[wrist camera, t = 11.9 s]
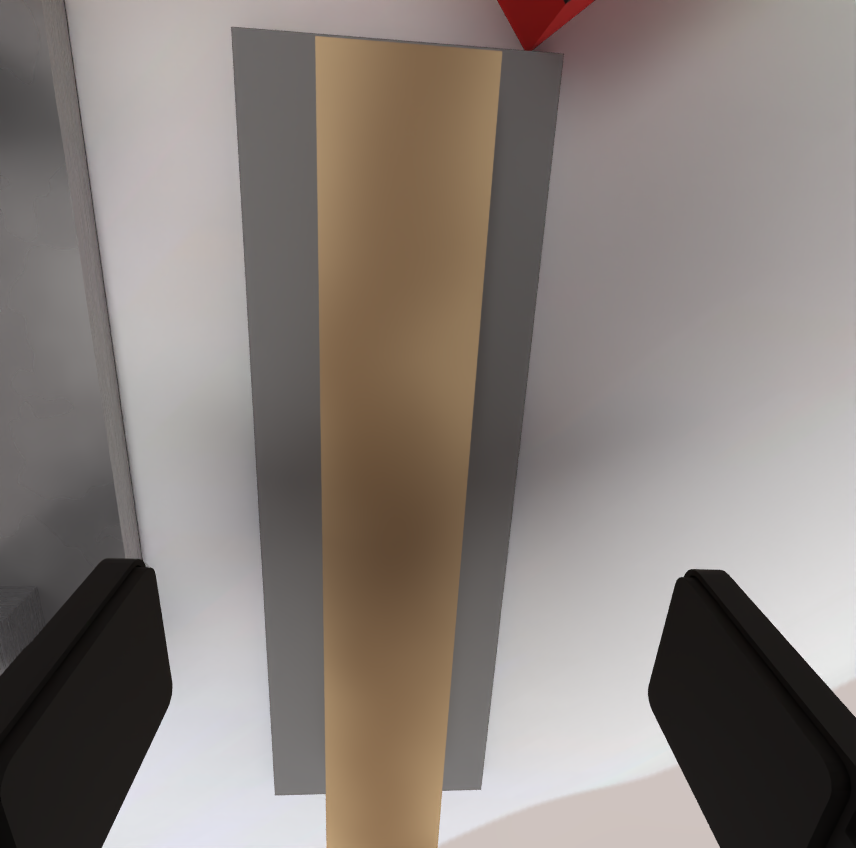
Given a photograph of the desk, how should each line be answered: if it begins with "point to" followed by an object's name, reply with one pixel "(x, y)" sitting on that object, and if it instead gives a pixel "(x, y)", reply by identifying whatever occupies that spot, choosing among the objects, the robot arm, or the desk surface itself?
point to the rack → (52, 341)
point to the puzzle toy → (539, 18)
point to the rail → (396, 411)
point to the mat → (300, 384)
